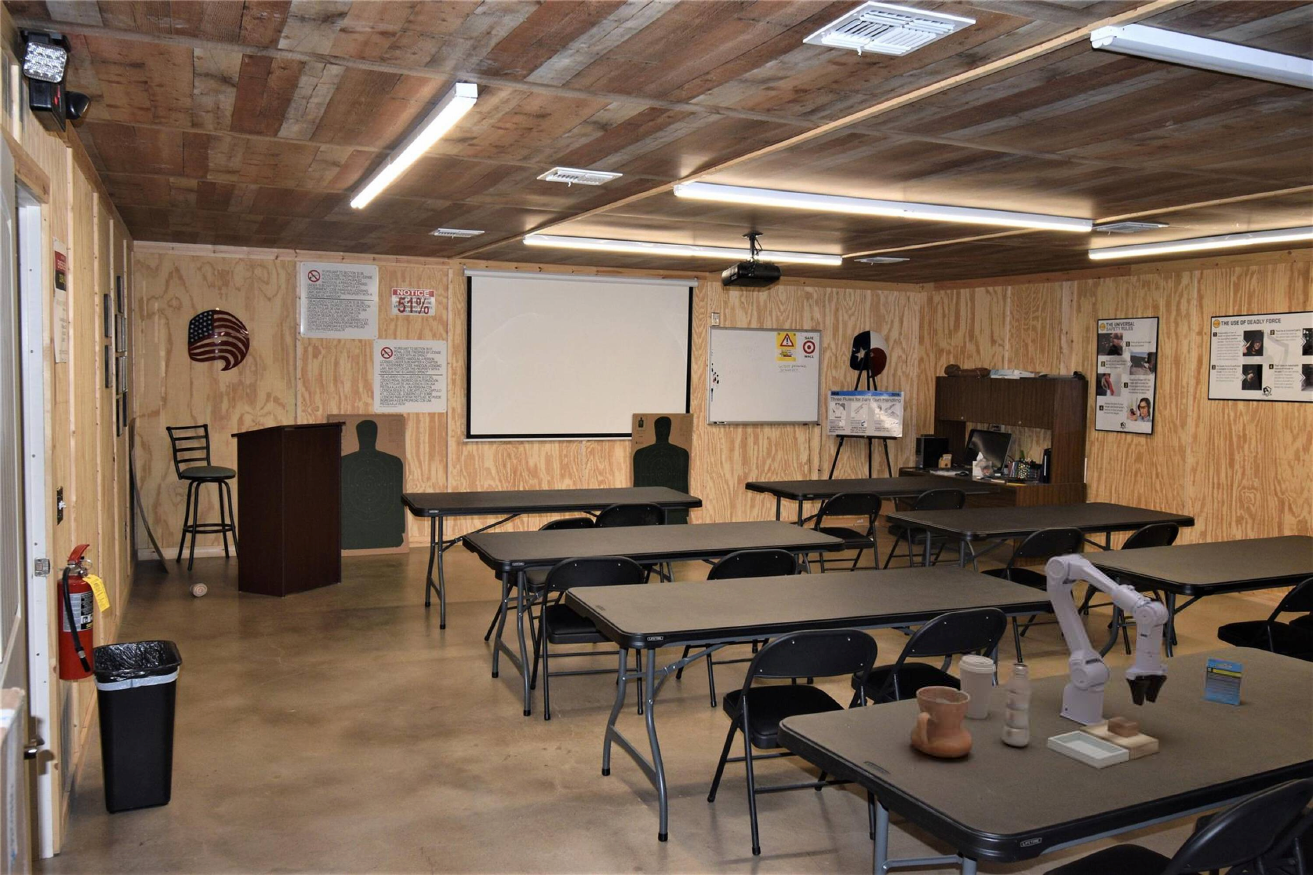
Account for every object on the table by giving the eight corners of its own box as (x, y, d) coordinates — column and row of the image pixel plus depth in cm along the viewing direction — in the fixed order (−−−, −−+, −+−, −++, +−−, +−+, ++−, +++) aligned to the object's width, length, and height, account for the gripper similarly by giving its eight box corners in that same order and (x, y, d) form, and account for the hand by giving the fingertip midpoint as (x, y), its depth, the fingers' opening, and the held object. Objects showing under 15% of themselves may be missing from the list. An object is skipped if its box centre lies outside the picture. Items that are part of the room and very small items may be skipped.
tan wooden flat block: (1079, 739, 250) (1080, 727, 249) (1106, 732, 255) (1107, 720, 255) (1130, 759, 238) (1131, 747, 237) (1157, 751, 243) (1158, 739, 243)
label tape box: (1239, 702, 283) (1243, 660, 282) (1239, 706, 280) (1242, 663, 279) (1204, 695, 288) (1208, 654, 287) (1203, 699, 284) (1207, 657, 283)
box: (1047, 747, 243) (1047, 737, 243) (1077, 739, 249) (1078, 730, 249) (1097, 768, 231) (1098, 758, 231) (1128, 760, 237) (1129, 750, 237)
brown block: (1107, 730, 248) (1108, 719, 248) (1119, 727, 250) (1120, 716, 250) (1125, 737, 244) (1126, 726, 243) (1138, 734, 246) (1138, 722, 246)
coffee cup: (953, 717, 262) (957, 661, 261) (957, 706, 271) (960, 652, 270) (991, 723, 258) (995, 667, 257) (994, 711, 267) (997, 657, 266)
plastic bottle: (1028, 741, 247) (1033, 663, 245) (1029, 751, 240) (1034, 670, 239) (1000, 737, 249) (1006, 659, 247) (1000, 746, 243) (1006, 667, 241)
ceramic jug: (936, 733, 250) (938, 678, 248) (987, 752, 238) (989, 694, 237) (891, 751, 238) (893, 693, 237) (942, 771, 227) (945, 711, 226)
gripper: (1145, 658, 242) (1141, 712, 243) (1180, 651, 250) (1176, 703, 251) (1119, 650, 248) (1115, 703, 249) (1154, 643, 256) (1150, 695, 257)
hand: (1144, 703), depth 251 cm, fingers open, 5 cm apart
